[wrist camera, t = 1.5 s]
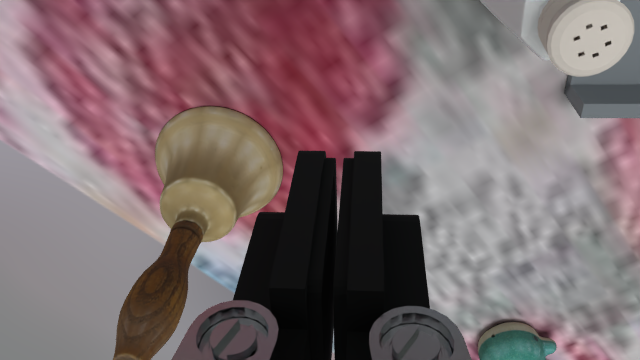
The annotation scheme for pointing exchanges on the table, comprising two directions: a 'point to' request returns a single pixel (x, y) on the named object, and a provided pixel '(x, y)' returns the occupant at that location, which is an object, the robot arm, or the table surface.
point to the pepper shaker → (569, 31)
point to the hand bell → (196, 212)
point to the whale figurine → (514, 343)
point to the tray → (611, 82)
